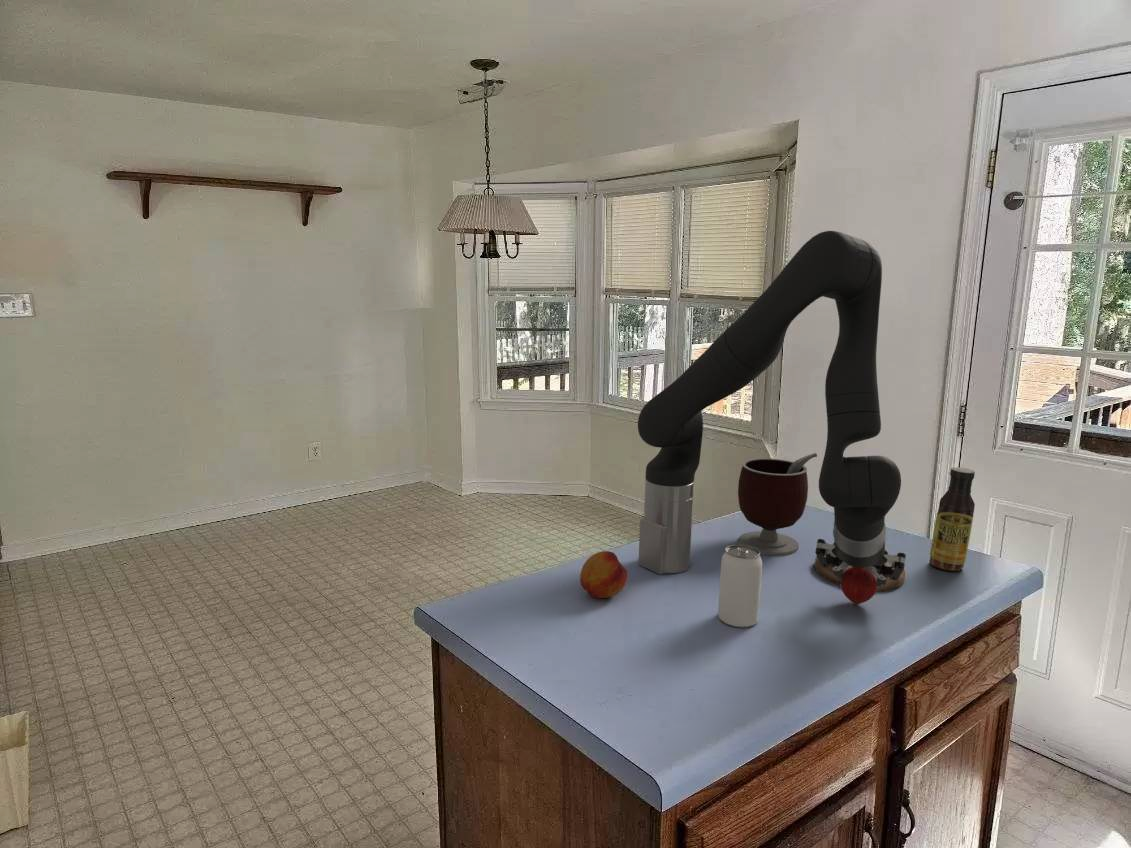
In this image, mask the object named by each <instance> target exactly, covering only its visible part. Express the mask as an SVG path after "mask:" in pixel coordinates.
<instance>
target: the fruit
mask: <svg viewBox="0 0 1131 848" xmlns="http://www.w3.org/2000/svg"><path fill="white" fill-rule="evenodd" d="M579 575H580V576H579V579H580V580H579V582H580V586H581V587H582V588H583V589H584V590H585V591H586V592H587V593H588V594H589V595H590V596H591V597H594V598H597V599H604V598H605V599H606V598H611V597H613V596H616V595H617V594H619V593H620V592H622V590H623V589H624V587H625V586H626V582H627V580H628V577H629V576H628V570H627V569H626V568H625V567H624V566H623V564H622V562H620V561H619V559H618V557H617V555H616V553H614V552H612V551H608V550H607V551H599V552H596V553H594V554H592V555H591V556H589V557H588V559H587V560H586V561H585V562H584V564H583V565H582V567H581V571H580V574H579Z"/></svg>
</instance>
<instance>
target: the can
mask: <svg viewBox="0 0 1131 848" xmlns="http://www.w3.org/2000/svg"><path fill="white" fill-rule="evenodd" d="M762 571H763V559H762V557H761V554H760V551H759V550H758V549H756V548H754V547H751V546H747V545H740V544H732V545H728V546H726V547H725V548H724V553H723V554H722V557H721V563H720V578H719V579H720V580H719V595H718V608H717V609H718V611H717V612H718V613H717V616H718V618H719V620H720V621H721V622H722V623H723V622H724V623H723V624H725V625H727V626H730V627H734V628H738V627H739V628H740V629H745V628H751V627H753V626H754V625H756V624H757V623H758V620H759V614H760V613H759V611H760V601H761V599H760V598H761V587H762V575H763V572H762ZM739 628H738V629H739Z"/></svg>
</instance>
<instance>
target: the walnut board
mask: <svg viewBox="0 0 1131 848" xmlns="http://www.w3.org/2000/svg"><path fill="white" fill-rule="evenodd" d="M830 553H831V556H833V557H834V556H835V555H834V554H833V553H832V552H830ZM886 564H887V565H888V566H890V567H891V565H890V563H889V562H886ZM850 567H853V566H849V567H847V568H846V569H844V570H843V573H844V572H845V571H846V570H847V569H849V568H850ZM814 569H815V572H816V573H817V574H819V576H820V577H822V578H824V579H825V580H827V581H830V582H831V583H833V584H836V585H839V586H841V584H840V583H841V579H838V578H837V576H835V575H834V572H833V569H832V567H831V566H829V567H827V568H826V567H822V566H821V564H820V562H819V560H818V558H817V555H815V561H814ZM874 576H875V579H876V583H877V576H876V575H874ZM905 578H906V571H905V569H904V570H903V572H902V573H901V575H900V577H899V578H898V580H891V579H890V577H887V579H886V584H885V585H882V584H881V587H879V586H877V589H876V592H880V591H881V592H882V591H883V592H885V591H891V590H895V589H898V588H900V587H901V586H903V585H904V583H905Z"/></svg>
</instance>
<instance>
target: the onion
mask: <svg viewBox="0 0 1131 848" xmlns="http://www.w3.org/2000/svg"><path fill="white" fill-rule="evenodd" d="M840 584H841V585H840V589H841V591H842V594H843V595H844V596H845V597H846V599H848V600H849V601H850V602H851V603H852V604H854V605H860V604H863V603H866V602H868V601H869V600H871V598H872V599H873V597H874V596H875V594H876V592H877V591H876V589H877V583H876V579H875V576H874V575H872V574H871V573H870V572H869V571H868V570H867V569H865V568H857V567H850V568H849V569H847V570H846V571H845V572H844V573H843V575H842V578H841V583H840Z"/></svg>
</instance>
